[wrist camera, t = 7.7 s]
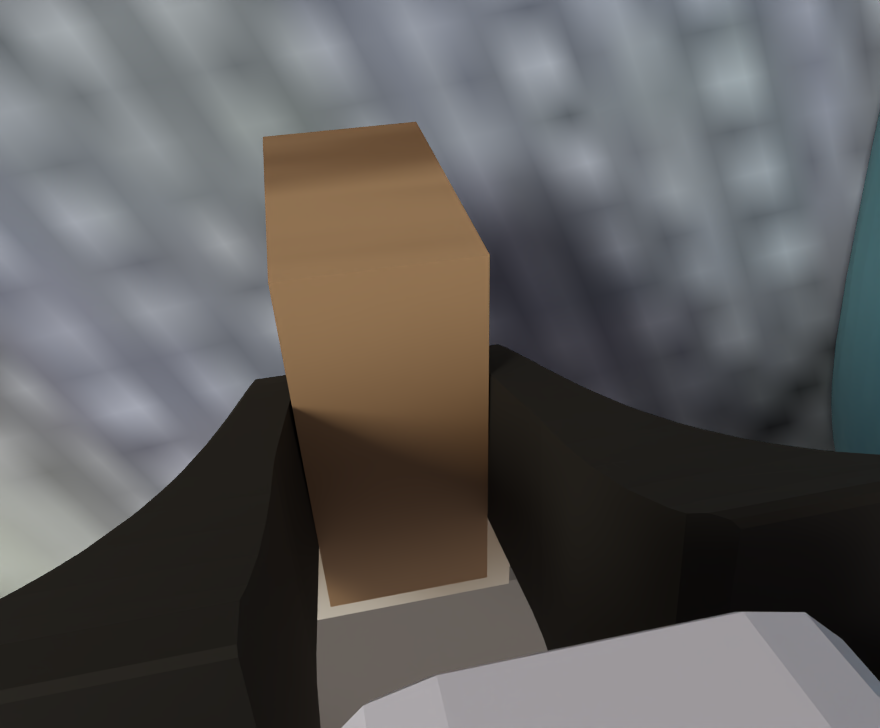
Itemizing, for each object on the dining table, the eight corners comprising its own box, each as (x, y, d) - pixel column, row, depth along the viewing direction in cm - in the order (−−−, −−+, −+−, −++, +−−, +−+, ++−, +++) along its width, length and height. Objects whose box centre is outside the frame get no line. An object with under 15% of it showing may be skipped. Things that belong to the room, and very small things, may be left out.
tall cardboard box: (157, 147, 12) (112, 302, 8) (511, 112, 13) (625, 237, 9) (275, 601, 19) (282, 803, 15) (500, 559, 20) (561, 739, 16)
